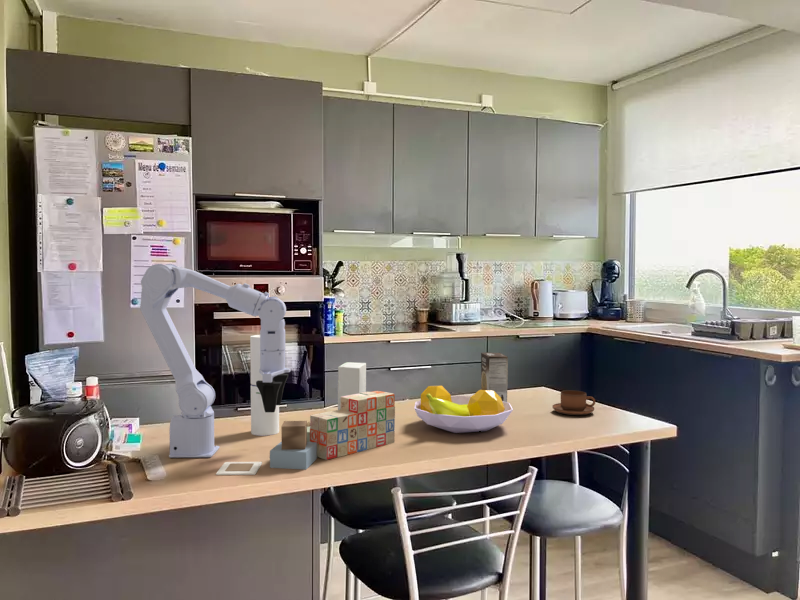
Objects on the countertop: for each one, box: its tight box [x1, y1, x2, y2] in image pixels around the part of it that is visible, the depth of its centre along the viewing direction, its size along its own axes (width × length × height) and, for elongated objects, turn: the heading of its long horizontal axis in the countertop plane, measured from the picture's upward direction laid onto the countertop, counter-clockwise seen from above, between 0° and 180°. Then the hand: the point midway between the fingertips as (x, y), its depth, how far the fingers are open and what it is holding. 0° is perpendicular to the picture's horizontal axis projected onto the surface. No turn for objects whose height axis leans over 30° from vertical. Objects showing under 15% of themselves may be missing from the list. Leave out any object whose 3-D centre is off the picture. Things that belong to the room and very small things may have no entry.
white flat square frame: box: [215, 461, 263, 476], centre depth 138 cm, size 8×8×1 cm
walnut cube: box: [280, 420, 308, 450], centre depth 142 cm, size 5×5×5 cm
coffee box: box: [480, 351, 509, 403], centre depth 201 cm, size 9×6×16 cm
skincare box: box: [337, 361, 367, 410], centre depth 183 cm, size 8×7×16 cm
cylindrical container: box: [249, 334, 280, 437], centre depth 168 cm, size 7×7×25 cm
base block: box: [269, 440, 318, 470], centre depth 142 cm, size 8×8×4 cm
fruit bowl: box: [413, 385, 514, 434], centre depth 174 cm, size 28×27×11 cm
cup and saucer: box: [552, 389, 596, 416], centre depth 192 cm, size 12×12×6 cm
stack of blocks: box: [309, 390, 396, 461], centre depth 153 cm, size 21×6×12 cm, turn 135°
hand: (272, 408), depth 150 cm, fingers open, 7 cm apart
